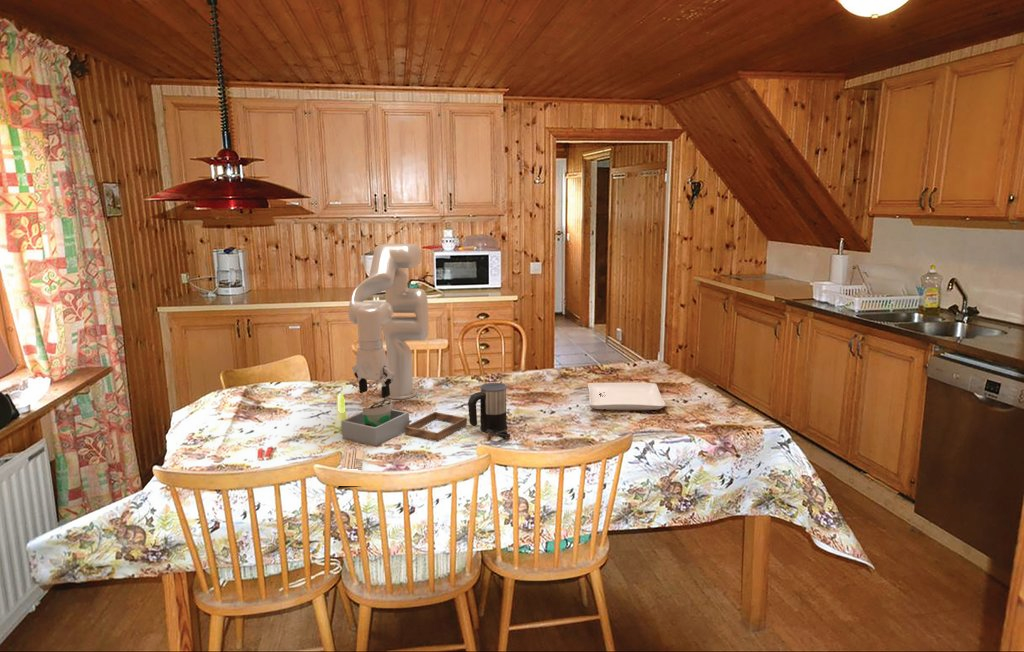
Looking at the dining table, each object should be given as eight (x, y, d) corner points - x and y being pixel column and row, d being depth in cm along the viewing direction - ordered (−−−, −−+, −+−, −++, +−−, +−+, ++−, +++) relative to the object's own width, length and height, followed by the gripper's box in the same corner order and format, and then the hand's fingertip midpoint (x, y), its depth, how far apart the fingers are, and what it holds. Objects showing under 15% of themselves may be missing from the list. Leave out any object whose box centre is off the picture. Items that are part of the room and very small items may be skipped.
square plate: (655, 391, 250) (656, 381, 250) (665, 415, 224) (666, 404, 223) (587, 390, 253) (587, 381, 252) (589, 413, 226) (589, 403, 226)
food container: (378, 441, 202) (377, 411, 199) (362, 437, 204) (361, 408, 202) (400, 428, 213) (400, 400, 210) (385, 424, 215) (385, 397, 213)
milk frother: (493, 421, 219) (492, 380, 216) (528, 431, 209) (528, 389, 206) (464, 433, 209) (463, 390, 206) (499, 444, 199) (499, 400, 196)
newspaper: (343, 455, 194) (343, 450, 193) (367, 453, 195) (366, 448, 195) (338, 490, 171) (337, 484, 171) (364, 487, 172) (364, 481, 172)
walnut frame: (405, 434, 209) (404, 426, 208) (435, 418, 223) (434, 411, 222) (438, 441, 202) (437, 434, 202) (466, 424, 216) (466, 418, 216)
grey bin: (342, 438, 206) (341, 421, 205) (376, 422, 220) (375, 405, 219) (376, 446, 199) (375, 428, 198) (409, 429, 213) (408, 412, 212)
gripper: (343, 344, 204) (347, 393, 208) (383, 350, 196) (387, 402, 200) (359, 338, 211) (362, 386, 215) (399, 344, 202) (402, 395, 206)
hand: (374, 394), depth 207 cm, fingers open, 9 cm apart
